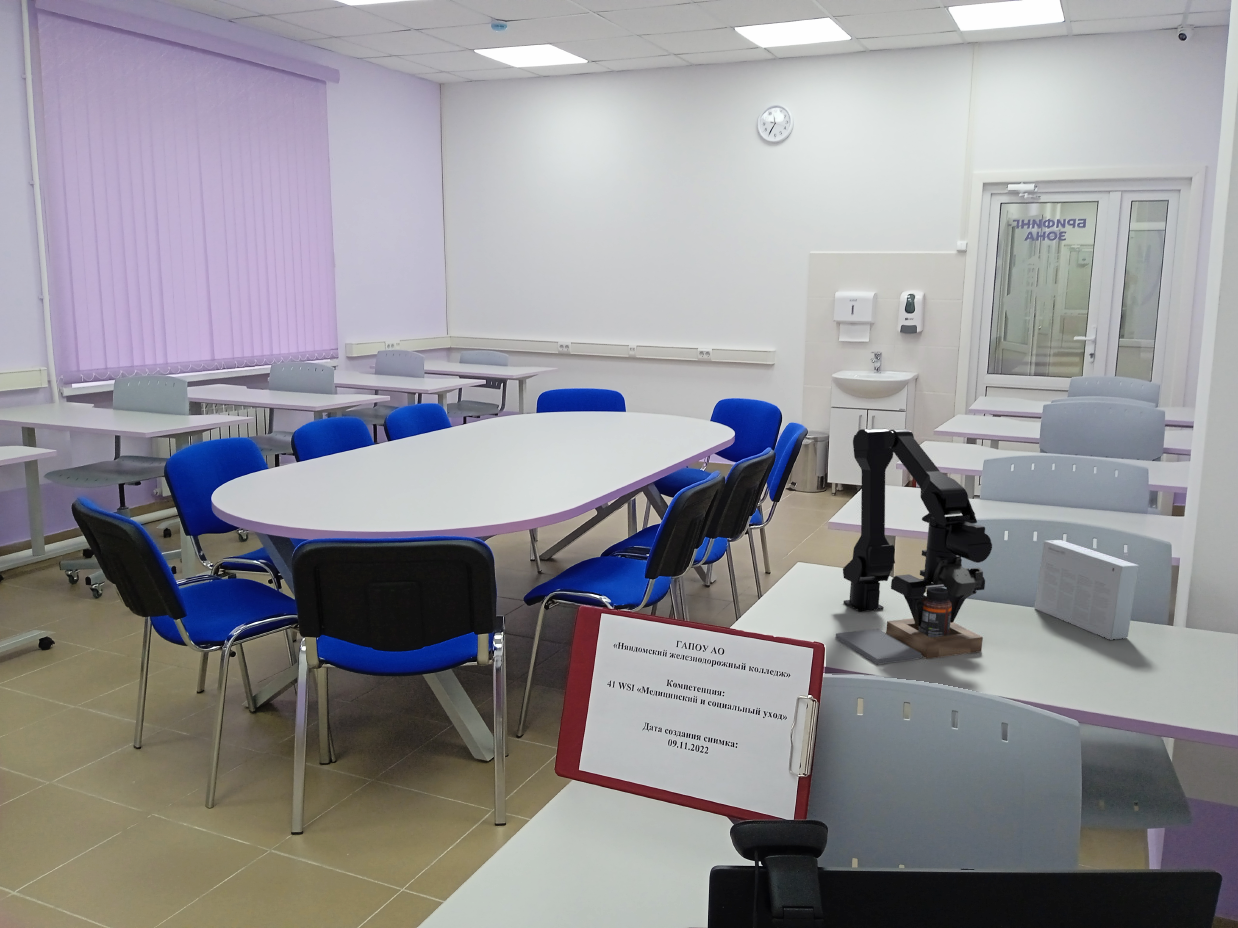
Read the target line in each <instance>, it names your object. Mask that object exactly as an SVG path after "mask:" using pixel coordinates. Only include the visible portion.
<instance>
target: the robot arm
mask: <svg viewBox="0 0 1238 928" xmlns="http://www.w3.org/2000/svg"><path fill="white" fill-rule="evenodd" d="M852 445H853V455H854V456H853V457H854V459H855V461H856V463H857V464H858V466H859V468H860V469H861V493H860V494H861V495H860V496H861V497H860V499H861V501H860V502H861V504H860V505H861V506H860V507H861V512H860V513H861V514H860V515H861V517H860V518H861V520H860V523H861V524H860V526H861V527H860V531H861V532H860V537H859V538H858V540H857V542H856V543H855V545H854V547H853V552H852V559H851V560H850V561H849V562H848V563H847V564H846V565H845V566H844V567H843V568H842V573H843V579H844V580H847V581H848V582H850V589H849V599H846V600H843V604H845V605H846V606H848V607H850V608H852V609H854V610H856V611H857V612H868V611H880V610H881V611H882V610H884V608H885V607H884V605H881V604H880V594H881V591H880V586H881V583H880V582H887V581H888V580H889V578H890V575H891V574H892V573H891V572H893V569H894V564H896V559H895V552H896V551H895V549H896V548H895V546H894V544H890V542H889V541H888V539H887V537H886V529H885V528H886V472H887V471H886V469H887V468H888V467H889V465H890V463H891V462H892V460H893V458H894V454H895V456H896V458H898V460H899V461H900V463H901V464H902V466H903V467H904V468H905V470H907V472H908V473H909V475H911V477H912V478H913V480H914V481H915V482H916V484H917V485H918V487H919V488H920V499H921V502H923V504H924V506H925V508H926V510H927V512H928V513H927V514H926V515H924V516H921V517H922V518H921V521H922V522H924V523H927V524H928V527H927V528H928V531H927V541H926V549H922V550H921V556H922V557H925V560H924V561H925V562H924V569H920V570H919V575H920V576H921V577H923V578H918V577H916V576H914V575H912V574H901V575H894V576H893V578H892V579H891V583H890V589H891V590H893V591H894V592H897V593H899V594H901V595H903V597H904V599H905V601H906V604H907V605H908V608H909V610H910V613H911V616H912V618H913V619H914V622H915V624H916V625H917V626H921V622H922V615H923V606H924V602H925V601H926V600H927V599H928V598H929V597H927V595H926V593H927V588H936V587H942V588H945V589H947V590H948V596H947V599H948V600H949V601H950V602H951V604H952V610H951V621H950V622H951V623H953V622H954V623H955V619H956V618H957V616H958V614H959V611H960V610H961V608H962V606H963V604H964V602H965V601H966V600H967V598H969V597H970V596H972V595H975V594H977V591H982V590H983V591H984V590H985V588H986V579H985V577H984V571H983V570H982V568H980V567H972V568H969V567H963V566H962V561H963V559H966V560H968V561H971V562H973V563H983V562H984V561H986V560H987V558H988V557H989V556H990V555H991V552H992V549H993V543H992V540H991V537H990V536H989V535H988V534H987V533H986V527H985V526H983V525H980V524H979V525H977V523H978V520H977V518H976V517H977V516H976V513H975V511H974V510H973V506H972V504H971V501H970V499H969V494H968V492H967V491H966V489H965V487H964V486H963V485H961V484H960V483H959V482H958V481H957V480H955V479H954V478H952V477H950V476H947V475H946V474H944V473H943V472H941V470H940V469H939V468H938V467H937V465H936V464H935V463H934V462H933V460H932V459H931V458H930V457H929V455H928V454H927V453H926V452H925V450H924V449H923V447H922V446H921V445H920V444H919V443H918V442H917V440H916V439H915V436H914V433H913V432H912V431H911V430H909V429H907V428H897V429H895V428H893V429H890V430H889V429H888V428H862V429H859V430H858V431H857V432H856V433H855V434H854V436H853V439H852ZM962 558H963V559H962Z"/></svg>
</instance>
